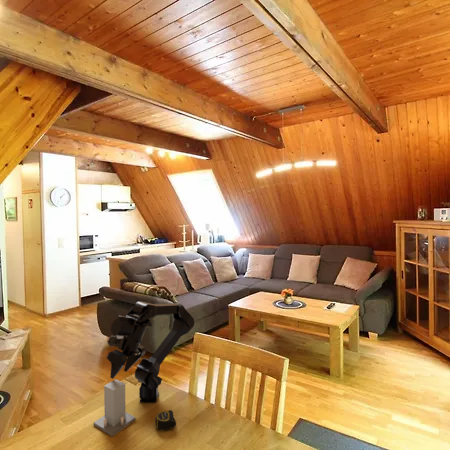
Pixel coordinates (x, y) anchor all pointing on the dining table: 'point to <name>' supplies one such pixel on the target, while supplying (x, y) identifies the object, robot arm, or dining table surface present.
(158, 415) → the tape measure
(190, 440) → the dining table surface
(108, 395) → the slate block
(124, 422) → the plate
